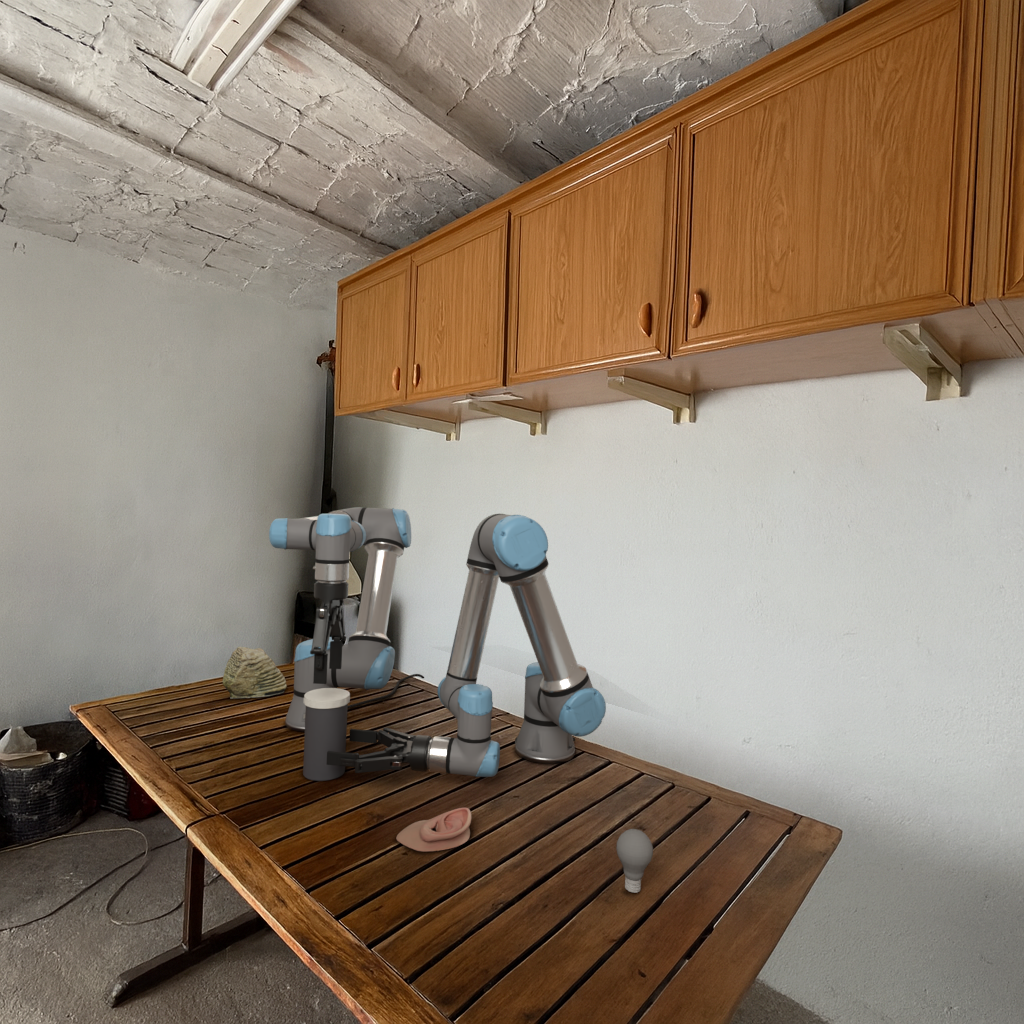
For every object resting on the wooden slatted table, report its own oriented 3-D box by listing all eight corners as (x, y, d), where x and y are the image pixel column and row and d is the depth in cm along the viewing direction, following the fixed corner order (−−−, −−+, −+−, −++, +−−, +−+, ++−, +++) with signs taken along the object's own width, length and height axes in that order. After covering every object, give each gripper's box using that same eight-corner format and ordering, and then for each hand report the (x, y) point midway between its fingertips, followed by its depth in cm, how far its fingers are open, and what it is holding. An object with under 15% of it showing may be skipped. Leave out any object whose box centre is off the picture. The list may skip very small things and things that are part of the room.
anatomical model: (390, 825, 115) (412, 796, 127) (389, 846, 116) (411, 816, 127) (460, 836, 113) (476, 806, 124) (459, 858, 113) (476, 826, 124)
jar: (329, 783, 140) (332, 705, 140) (294, 776, 143) (297, 699, 143) (352, 767, 149) (355, 693, 148) (319, 760, 152) (322, 688, 151)
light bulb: (610, 879, 108) (613, 822, 108) (644, 879, 109) (647, 822, 109) (619, 902, 102) (622, 840, 102) (655, 901, 103) (658, 840, 103)
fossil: (218, 695, 195) (220, 647, 195) (278, 685, 208) (279, 640, 207) (228, 703, 189) (230, 653, 188) (289, 692, 201) (290, 645, 201)
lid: (332, 711, 139) (333, 704, 139) (294, 704, 142) (294, 697, 142) (358, 698, 149) (358, 691, 148) (321, 692, 152) (321, 685, 152)
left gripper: (330, 574, 157) (326, 661, 157) (297, 587, 133) (293, 690, 133) (360, 575, 157) (356, 662, 157) (333, 589, 133) (329, 692, 133)
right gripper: (415, 796, 130) (315, 786, 132) (441, 749, 154) (357, 741, 157) (416, 759, 130) (317, 750, 132) (443, 718, 154) (359, 711, 157)
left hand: (327, 675), depth 145 cm, fingers open, 11 cm apart
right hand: (339, 745), depth 144 cm, fingers open, 13 cm apart
